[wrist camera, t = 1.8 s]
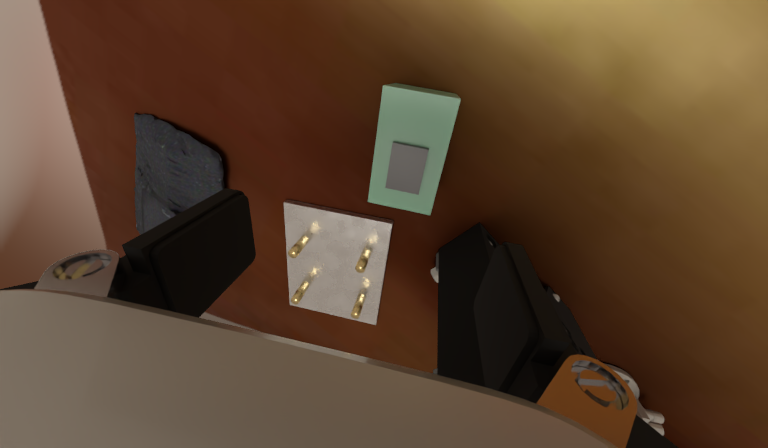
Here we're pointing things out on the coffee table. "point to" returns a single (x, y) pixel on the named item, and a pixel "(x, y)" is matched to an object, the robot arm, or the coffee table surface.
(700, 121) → the coffee table surface
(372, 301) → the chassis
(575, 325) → the electrical component
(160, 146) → the dark slate chunk
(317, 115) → the coffee table surface
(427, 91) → the green block
